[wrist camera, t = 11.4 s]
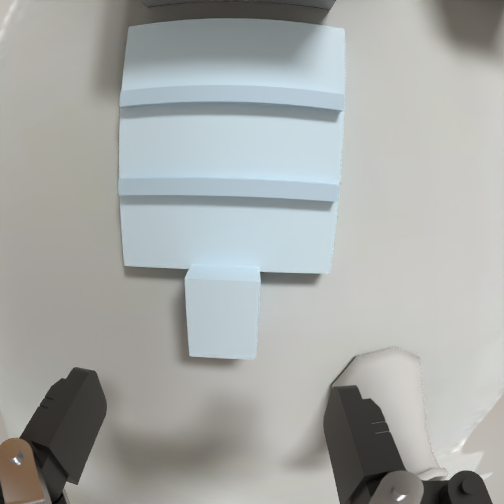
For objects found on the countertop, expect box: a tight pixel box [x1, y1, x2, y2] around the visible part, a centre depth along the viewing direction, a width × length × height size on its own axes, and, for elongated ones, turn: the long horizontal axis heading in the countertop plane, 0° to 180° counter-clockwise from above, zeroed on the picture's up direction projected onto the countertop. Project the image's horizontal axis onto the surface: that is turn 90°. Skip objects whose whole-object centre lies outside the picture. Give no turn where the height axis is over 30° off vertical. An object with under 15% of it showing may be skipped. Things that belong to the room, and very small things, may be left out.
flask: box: [332, 347, 449, 481], centre depth 16 cm, size 7×7×10 cm
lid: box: [118, 18, 345, 359], centre depth 14 cm, size 17×11×3 cm, turn 178°
